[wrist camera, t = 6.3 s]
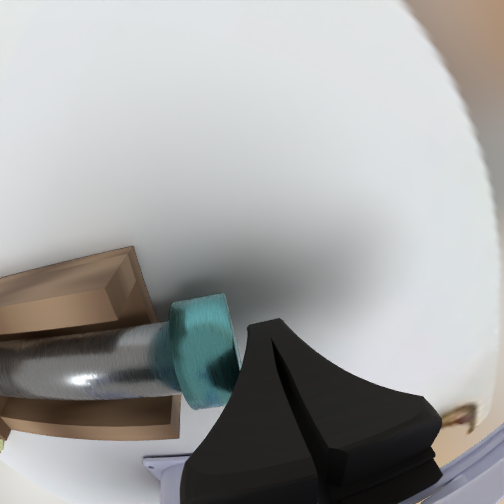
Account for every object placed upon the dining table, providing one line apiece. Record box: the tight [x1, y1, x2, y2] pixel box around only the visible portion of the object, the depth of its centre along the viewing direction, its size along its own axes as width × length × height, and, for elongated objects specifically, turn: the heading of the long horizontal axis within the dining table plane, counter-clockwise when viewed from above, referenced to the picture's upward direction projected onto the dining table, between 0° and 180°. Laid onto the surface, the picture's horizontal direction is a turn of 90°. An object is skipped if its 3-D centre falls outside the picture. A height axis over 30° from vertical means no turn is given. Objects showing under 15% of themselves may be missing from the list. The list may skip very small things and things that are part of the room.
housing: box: [0, 246, 181, 441], centre depth 11 cm, size 13×8×5 cm, turn 99°
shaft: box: [0, 293, 242, 410], centre depth 11 cm, size 14×4×4 cm, turn 99°
